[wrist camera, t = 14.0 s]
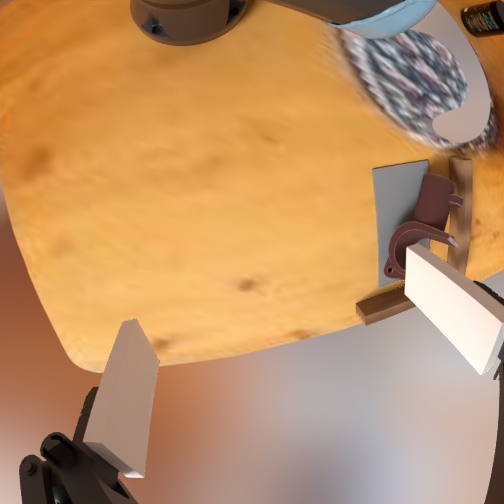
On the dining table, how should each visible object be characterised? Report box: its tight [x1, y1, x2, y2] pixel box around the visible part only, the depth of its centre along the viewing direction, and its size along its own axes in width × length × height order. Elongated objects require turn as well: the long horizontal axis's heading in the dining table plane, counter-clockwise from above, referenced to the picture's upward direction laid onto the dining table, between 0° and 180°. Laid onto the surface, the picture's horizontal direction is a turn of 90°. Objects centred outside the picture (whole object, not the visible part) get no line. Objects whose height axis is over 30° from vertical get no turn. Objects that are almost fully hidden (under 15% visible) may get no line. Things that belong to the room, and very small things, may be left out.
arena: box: [356, 156, 472, 326], centre depth 41 cm, size 24×23×4 cm
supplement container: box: [461, 0, 504, 38], centre depth 23 cm, size 7×7×10 cm
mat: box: [372, 160, 430, 287], centre depth 42 cm, size 20×11×1 cm, turn 13°
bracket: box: [384, 174, 463, 280], centre depth 38 cm, size 6×17×10 cm
